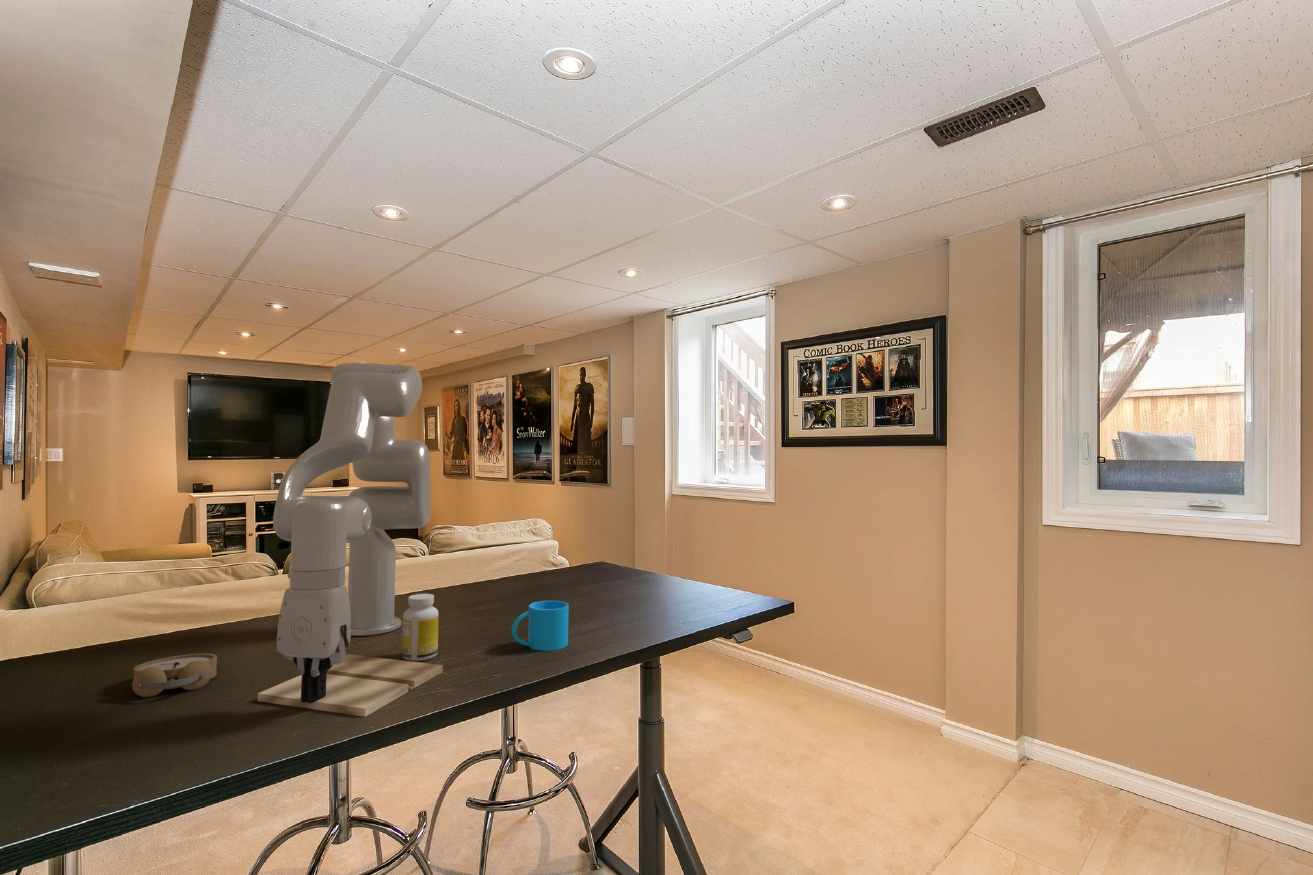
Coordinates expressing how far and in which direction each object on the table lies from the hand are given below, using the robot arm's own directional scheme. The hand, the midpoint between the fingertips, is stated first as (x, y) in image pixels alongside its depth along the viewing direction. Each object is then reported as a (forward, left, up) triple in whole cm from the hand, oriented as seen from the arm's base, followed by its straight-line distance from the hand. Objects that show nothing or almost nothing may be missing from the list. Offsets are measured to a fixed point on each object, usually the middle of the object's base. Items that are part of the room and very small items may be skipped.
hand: (313, 699), depth 94 cm
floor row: (0, +15, -1) cm, 15 cm away
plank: (0, +5, -1) cm, 5 cm away
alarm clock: (-29, +1, -2) cm, 29 cm away
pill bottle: (+1, +25, -2) cm, 25 cm away
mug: (+20, +38, -2) cm, 43 cm away
